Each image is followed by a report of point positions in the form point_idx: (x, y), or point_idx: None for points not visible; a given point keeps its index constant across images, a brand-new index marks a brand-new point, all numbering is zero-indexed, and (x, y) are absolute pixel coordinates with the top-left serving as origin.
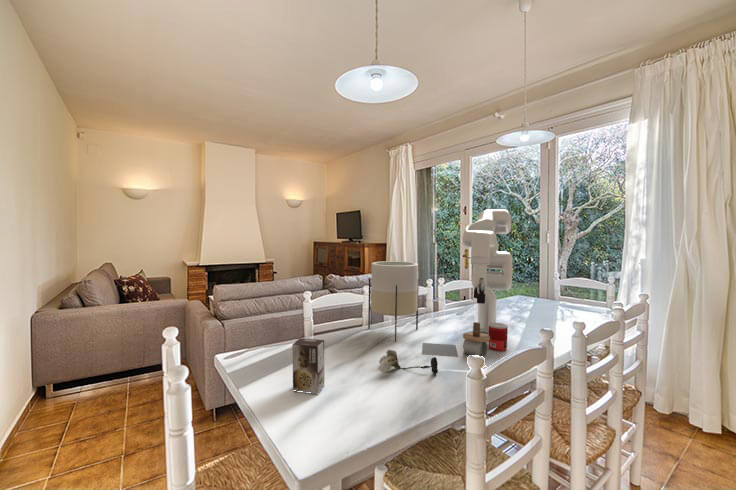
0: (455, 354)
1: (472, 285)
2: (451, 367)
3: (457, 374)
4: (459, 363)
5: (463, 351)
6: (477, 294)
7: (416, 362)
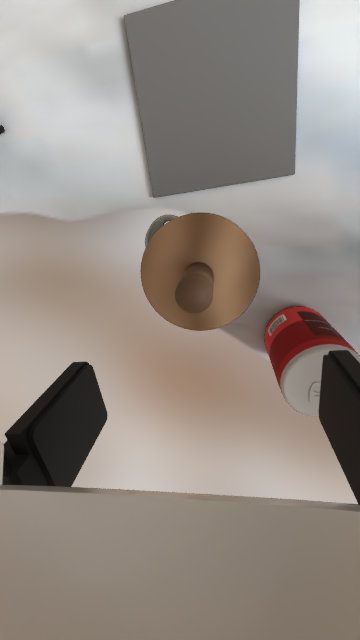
0: (174, 184)
1: (194, 508)
2: (65, 179)
3: (24, 204)
4: (110, 205)
5: (176, 216)
6: (16, 429)
7: (42, 15)
